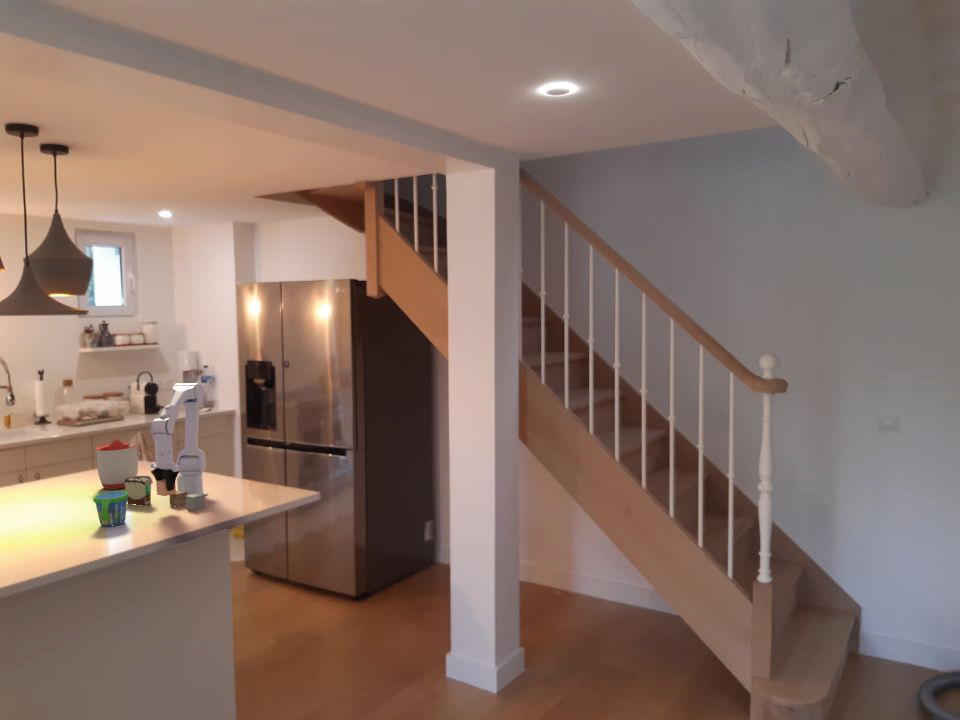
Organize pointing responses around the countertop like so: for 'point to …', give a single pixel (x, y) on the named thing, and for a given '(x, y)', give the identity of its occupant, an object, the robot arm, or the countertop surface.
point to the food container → (138, 489)
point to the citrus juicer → (116, 463)
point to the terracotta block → (164, 488)
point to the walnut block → (178, 498)
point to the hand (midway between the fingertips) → (166, 489)
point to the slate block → (195, 501)
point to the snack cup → (111, 507)
